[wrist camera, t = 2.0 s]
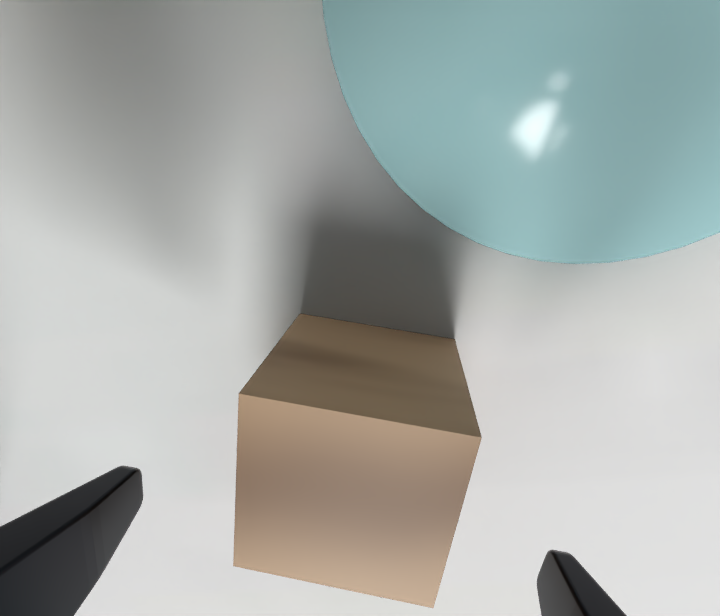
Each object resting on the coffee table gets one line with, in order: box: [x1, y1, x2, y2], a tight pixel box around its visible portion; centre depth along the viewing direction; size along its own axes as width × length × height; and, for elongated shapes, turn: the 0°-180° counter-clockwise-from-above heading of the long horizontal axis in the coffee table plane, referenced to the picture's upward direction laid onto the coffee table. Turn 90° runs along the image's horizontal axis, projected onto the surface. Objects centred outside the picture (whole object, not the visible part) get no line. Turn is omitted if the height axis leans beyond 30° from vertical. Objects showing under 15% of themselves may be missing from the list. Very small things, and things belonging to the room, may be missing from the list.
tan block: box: [233, 314, 482, 608], centre depth 11 cm, size 5×5×5 cm
